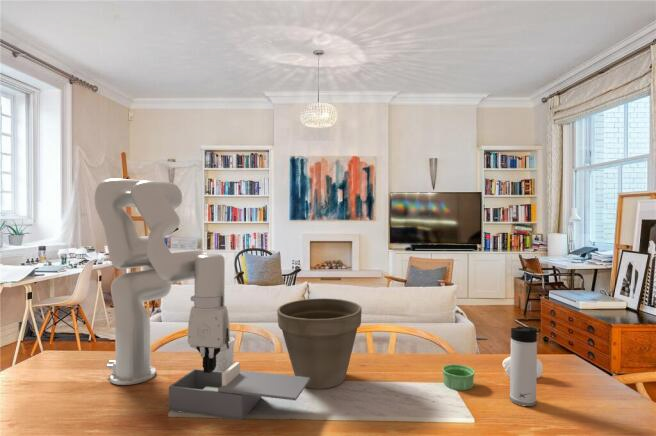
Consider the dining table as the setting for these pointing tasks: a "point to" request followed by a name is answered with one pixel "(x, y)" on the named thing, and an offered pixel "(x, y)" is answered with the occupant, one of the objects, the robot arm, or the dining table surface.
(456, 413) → the dining table surface
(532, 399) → the travel mug
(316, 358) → the plant pot
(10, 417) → the dining table surface
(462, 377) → the ramekin
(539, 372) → the bust
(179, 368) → the dining table surface
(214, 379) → the box
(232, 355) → the white cup
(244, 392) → the mailer lid
